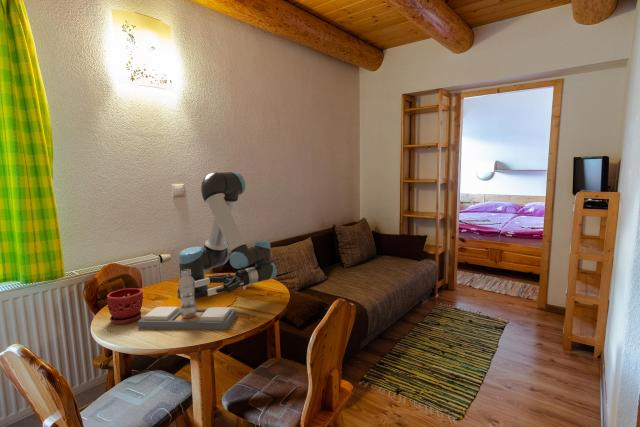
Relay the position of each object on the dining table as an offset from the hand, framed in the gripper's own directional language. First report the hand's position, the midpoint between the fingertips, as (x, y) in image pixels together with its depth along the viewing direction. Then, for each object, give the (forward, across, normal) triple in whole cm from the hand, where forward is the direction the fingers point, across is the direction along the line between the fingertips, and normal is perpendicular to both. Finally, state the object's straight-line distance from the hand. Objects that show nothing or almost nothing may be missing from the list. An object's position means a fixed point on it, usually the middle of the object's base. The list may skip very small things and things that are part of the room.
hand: (201, 288), depth 140 cm
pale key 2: (-2, -8, -11) cm, 14 cm away
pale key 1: (+14, +8, -11) cm, 19 cm away
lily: (-33, +22, -14) cm, 42 cm away
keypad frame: (+6, 0, -13) cm, 14 cm away
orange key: (+6, 0, -13) cm, 14 cm away
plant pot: (+25, +21, -13) cm, 35 cm away
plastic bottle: (+6, 0, -11) cm, 13 cm away
